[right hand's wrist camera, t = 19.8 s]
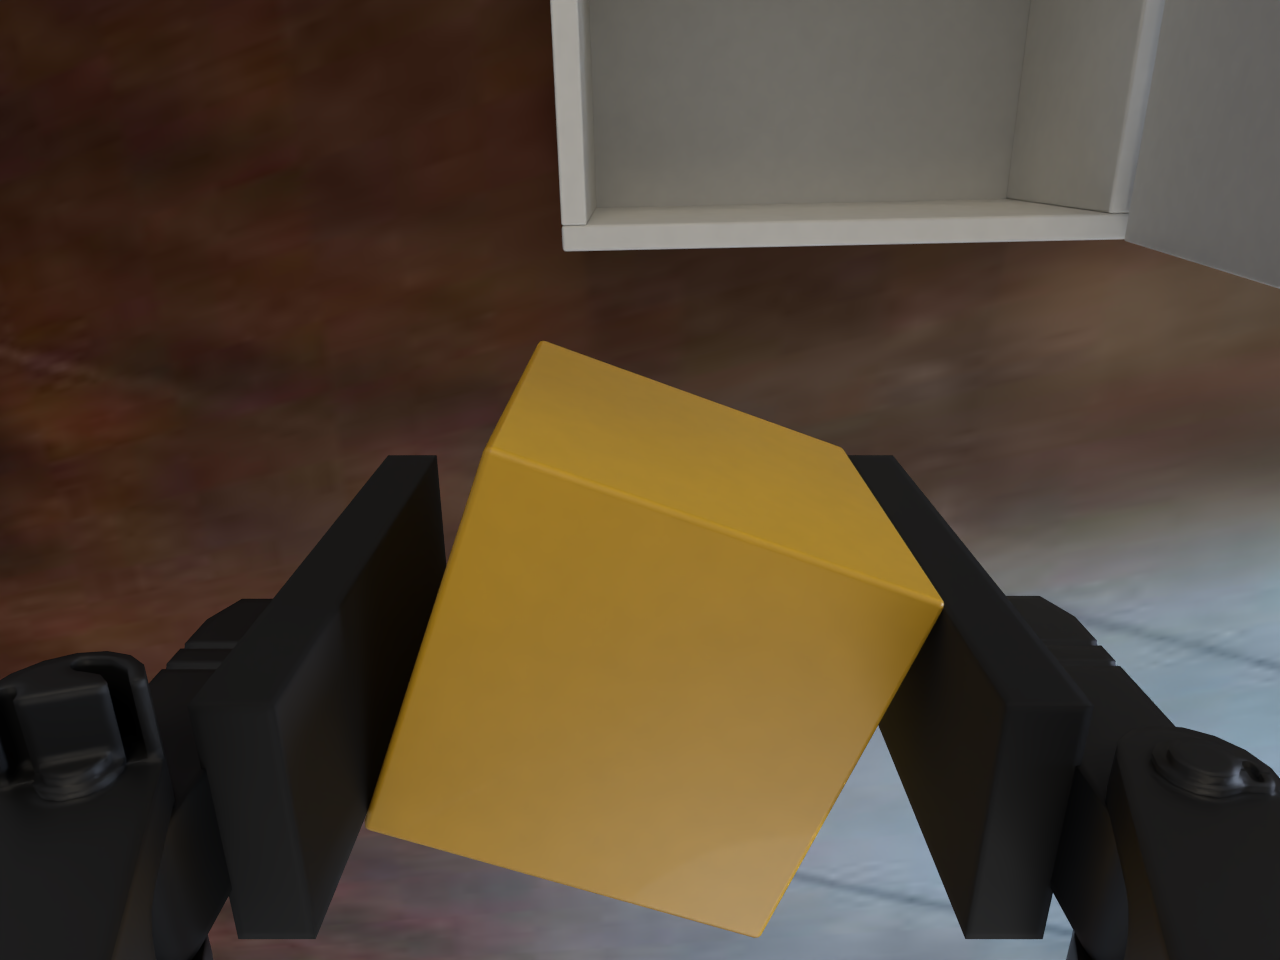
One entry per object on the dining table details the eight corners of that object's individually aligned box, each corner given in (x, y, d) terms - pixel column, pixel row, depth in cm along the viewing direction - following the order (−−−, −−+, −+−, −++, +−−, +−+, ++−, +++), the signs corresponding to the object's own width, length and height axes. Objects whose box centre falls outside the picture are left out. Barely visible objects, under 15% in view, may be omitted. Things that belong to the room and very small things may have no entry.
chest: (578, 226, 35) (562, 251, 27) (566, -59, 31) (543, -129, 23) (1014, 217, 35) (1129, 239, 27) (1050, -69, 31) (1196, -143, 23)
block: (449, 613, 15) (360, 830, 10) (539, 338, 13) (484, 446, 9) (724, 700, 16) (759, 942, 11) (844, 447, 14) (949, 604, 9)
